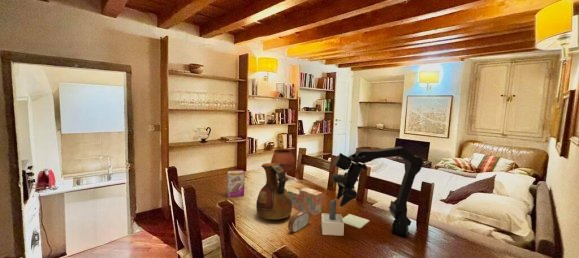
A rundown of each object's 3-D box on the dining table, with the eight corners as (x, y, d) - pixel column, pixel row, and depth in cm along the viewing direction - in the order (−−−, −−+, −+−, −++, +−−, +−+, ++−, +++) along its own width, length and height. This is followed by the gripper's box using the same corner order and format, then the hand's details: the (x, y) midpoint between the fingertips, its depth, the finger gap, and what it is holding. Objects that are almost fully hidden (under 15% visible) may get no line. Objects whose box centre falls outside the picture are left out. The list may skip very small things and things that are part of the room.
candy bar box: (227, 197, 169) (227, 173, 167) (226, 195, 174) (226, 171, 172) (244, 196, 172) (244, 172, 171) (243, 193, 177) (243, 170, 176)
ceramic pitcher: (275, 206, 156) (276, 158, 154) (299, 217, 142) (301, 164, 139) (248, 215, 143) (249, 162, 140) (272, 228, 128) (273, 169, 126)
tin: (305, 222, 136) (305, 207, 135) (310, 224, 134) (310, 209, 133) (287, 233, 124) (287, 216, 123) (292, 235, 122) (292, 218, 121)
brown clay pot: (268, 182, 203) (268, 151, 201) (273, 176, 222) (274, 147, 220) (292, 184, 200) (292, 152, 198) (295, 177, 219) (296, 148, 217)
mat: (369, 220, 140) (369, 220, 140) (360, 228, 130) (360, 228, 130) (349, 214, 147) (349, 213, 147) (339, 221, 138) (339, 220, 138)
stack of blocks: (287, 205, 159) (288, 185, 158) (294, 202, 164) (294, 183, 162) (315, 216, 145) (315, 194, 143) (321, 212, 149) (322, 192, 148)
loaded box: (340, 225, 133) (341, 214, 132) (343, 235, 123) (344, 223, 122) (321, 224, 134) (321, 213, 133) (322, 234, 124) (322, 222, 123)
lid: (339, 217, 132) (340, 198, 131) (341, 224, 123) (342, 204, 123) (323, 216, 132) (324, 197, 131) (324, 223, 124) (325, 203, 123)
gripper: (334, 162, 133) (322, 189, 134) (341, 172, 114) (326, 203, 116) (354, 171, 133) (341, 198, 135) (364, 182, 115) (349, 213, 116)
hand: (339, 202), depth 125 cm, fingers open, 9 cm apart
